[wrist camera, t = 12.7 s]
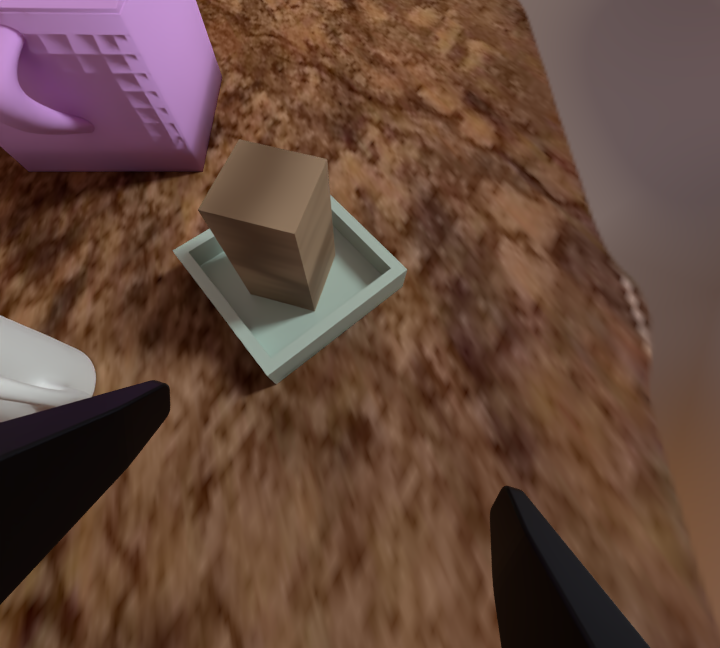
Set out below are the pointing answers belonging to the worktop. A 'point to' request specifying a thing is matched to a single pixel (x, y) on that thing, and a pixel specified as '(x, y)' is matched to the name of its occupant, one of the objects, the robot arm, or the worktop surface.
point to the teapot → (106, 85)
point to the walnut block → (274, 221)
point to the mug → (39, 372)
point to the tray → (291, 323)
